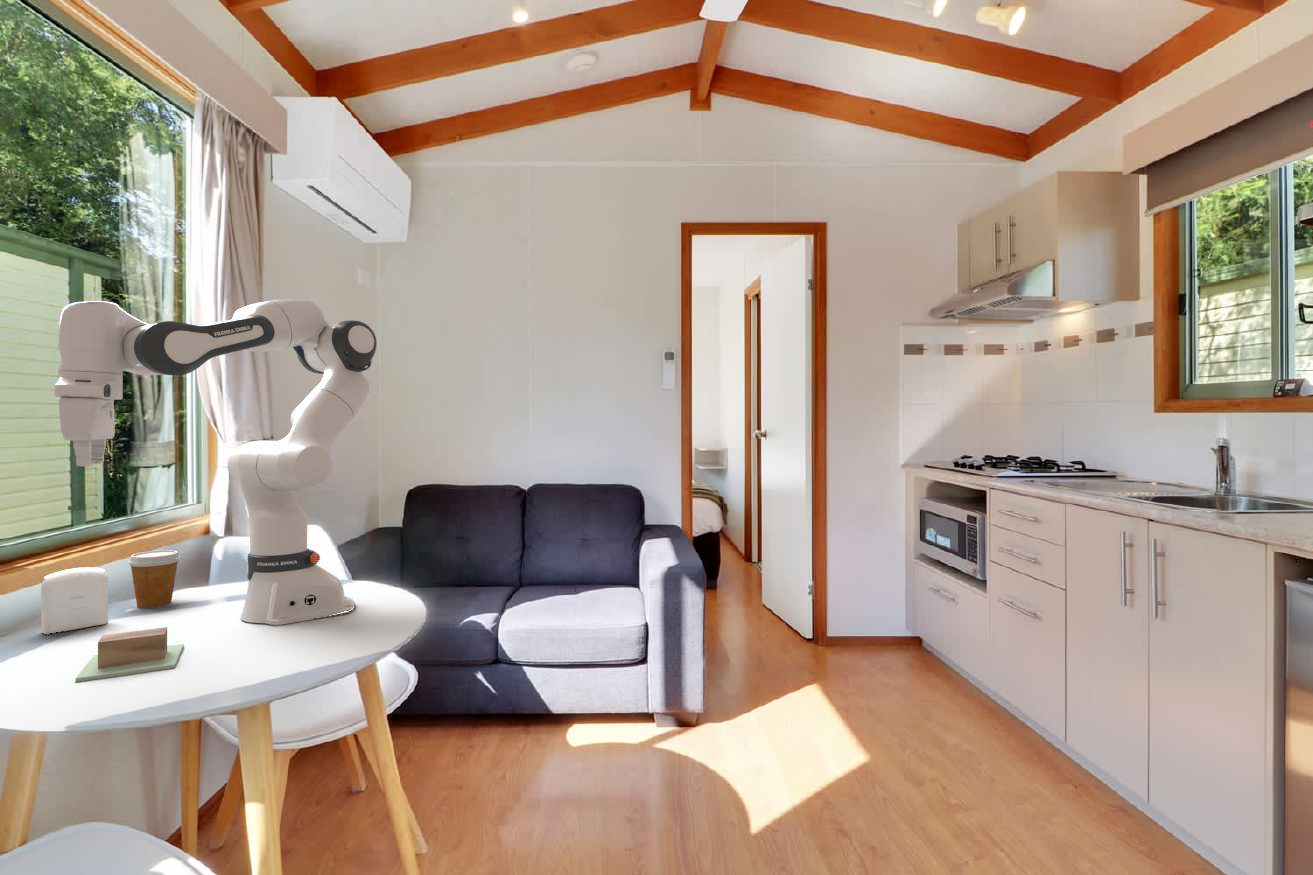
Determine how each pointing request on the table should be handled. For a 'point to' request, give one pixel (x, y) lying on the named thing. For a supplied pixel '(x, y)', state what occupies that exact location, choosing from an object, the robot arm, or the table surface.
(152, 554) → the disposable coffee cup
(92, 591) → the photo printer
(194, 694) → the table surface
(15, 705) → the table surface
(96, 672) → the rubber mat
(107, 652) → the box
